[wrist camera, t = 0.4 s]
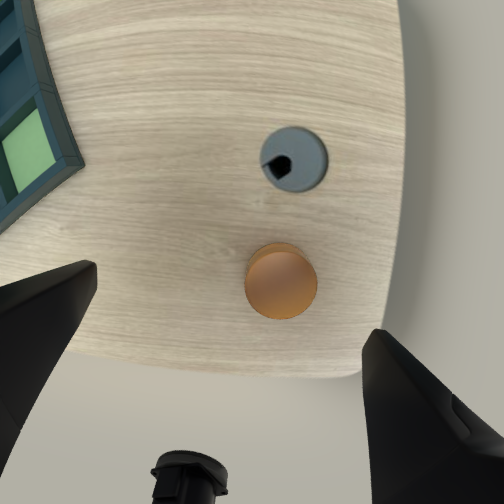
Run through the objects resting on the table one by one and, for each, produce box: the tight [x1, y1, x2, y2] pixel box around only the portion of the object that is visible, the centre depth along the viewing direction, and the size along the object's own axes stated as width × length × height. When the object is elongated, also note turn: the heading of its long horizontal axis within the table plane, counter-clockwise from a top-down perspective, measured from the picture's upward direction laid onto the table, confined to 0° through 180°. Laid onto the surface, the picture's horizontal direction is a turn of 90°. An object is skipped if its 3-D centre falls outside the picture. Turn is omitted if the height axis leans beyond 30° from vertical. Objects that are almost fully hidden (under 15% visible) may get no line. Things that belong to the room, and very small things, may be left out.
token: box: [245, 243, 317, 319], centre depth 21 cm, size 5×5×2 cm
